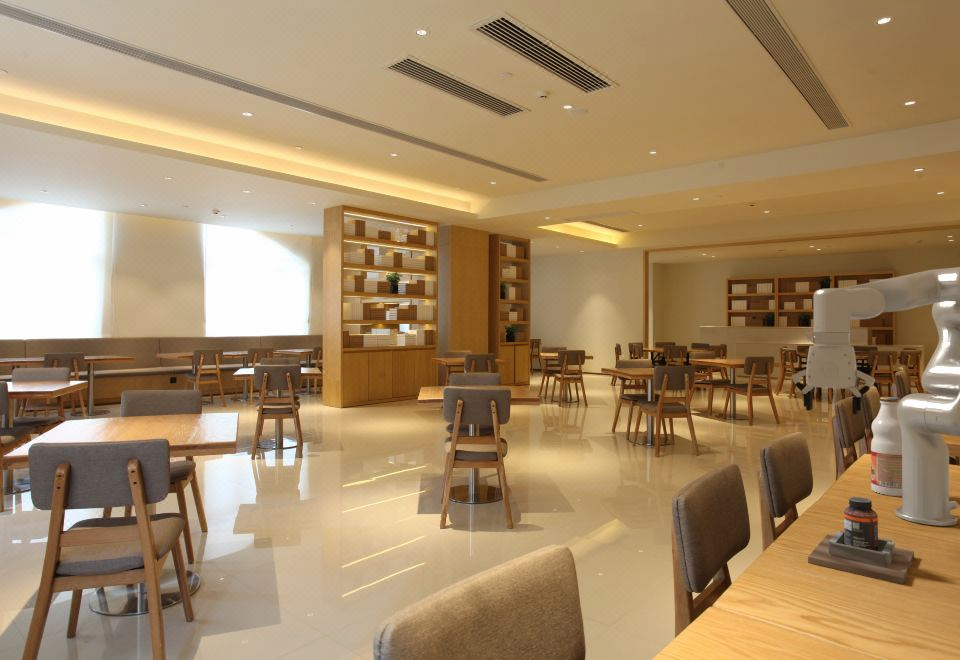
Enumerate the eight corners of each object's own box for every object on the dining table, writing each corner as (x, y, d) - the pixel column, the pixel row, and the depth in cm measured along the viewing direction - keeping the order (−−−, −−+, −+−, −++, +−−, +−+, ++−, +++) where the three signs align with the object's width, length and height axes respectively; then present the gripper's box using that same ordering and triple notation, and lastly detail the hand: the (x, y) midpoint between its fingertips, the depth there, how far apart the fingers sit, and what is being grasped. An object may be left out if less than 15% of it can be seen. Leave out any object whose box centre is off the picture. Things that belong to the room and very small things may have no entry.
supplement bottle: (873, 550, 125) (873, 496, 125) (882, 560, 119) (882, 504, 119) (841, 547, 127) (840, 494, 127) (848, 557, 121) (848, 501, 121)
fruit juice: (891, 498, 169) (890, 399, 169) (863, 489, 178) (862, 396, 178) (918, 496, 171) (917, 399, 171) (889, 487, 180) (888, 395, 180)
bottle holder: (827, 539, 135) (827, 523, 135) (914, 557, 124) (913, 539, 124) (808, 562, 121) (808, 544, 121) (903, 584, 111) (903, 564, 111)
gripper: (787, 340, 144) (788, 410, 144) (872, 340, 133) (872, 416, 133) (795, 339, 150) (796, 407, 150) (877, 340, 139) (877, 413, 139)
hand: (831, 411), depth 141 cm, fingers open, 9 cm apart
